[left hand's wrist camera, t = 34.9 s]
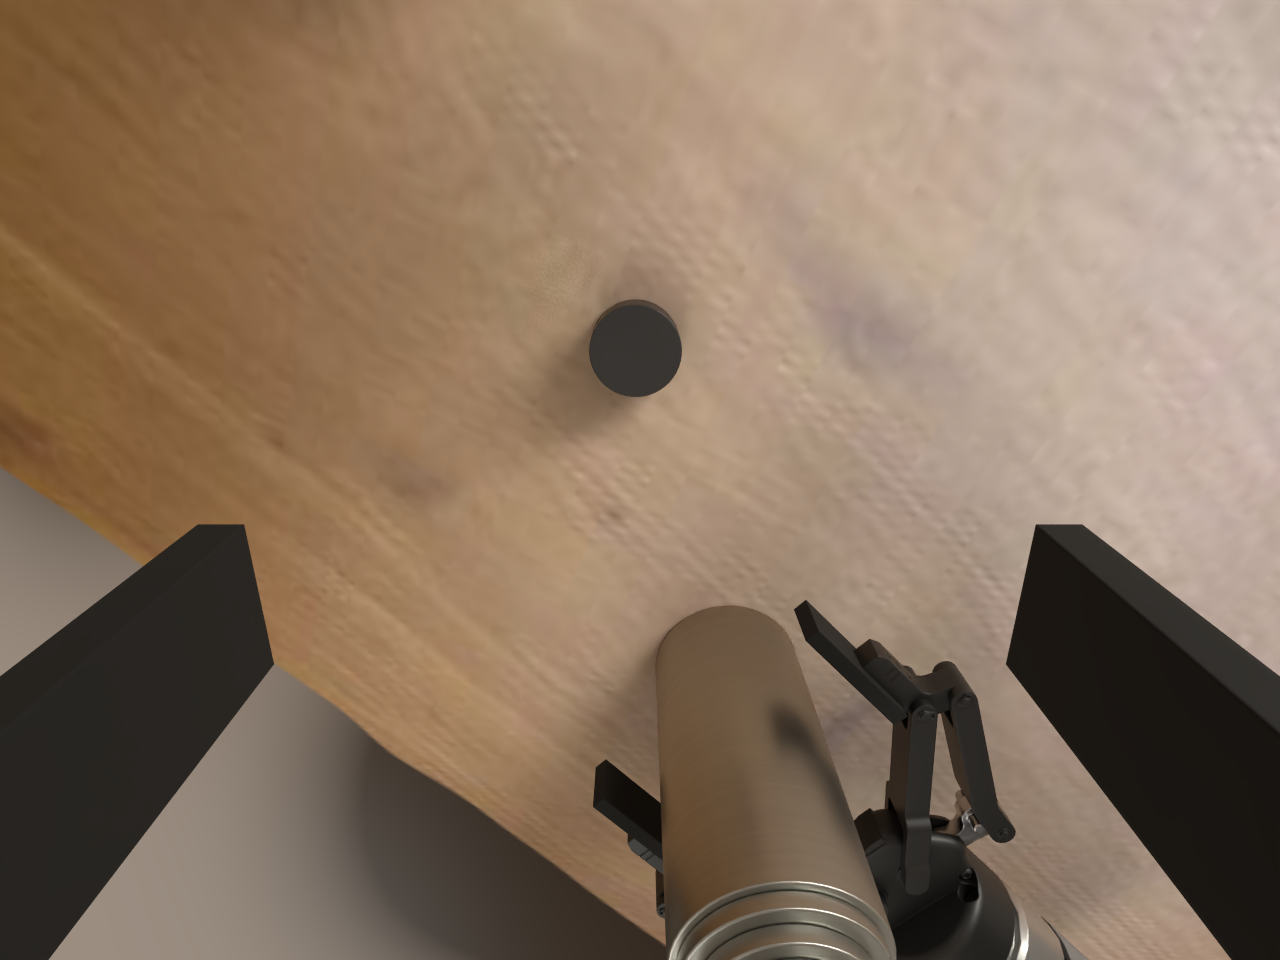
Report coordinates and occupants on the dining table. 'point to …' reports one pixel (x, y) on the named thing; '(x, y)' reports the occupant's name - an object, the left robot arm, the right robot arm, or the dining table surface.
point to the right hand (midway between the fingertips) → (697, 704)
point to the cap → (635, 348)
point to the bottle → (754, 804)
